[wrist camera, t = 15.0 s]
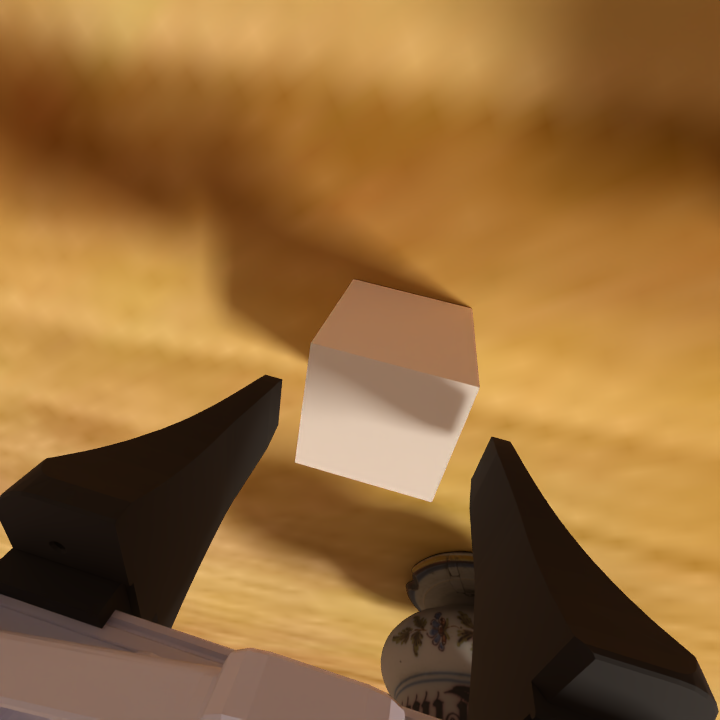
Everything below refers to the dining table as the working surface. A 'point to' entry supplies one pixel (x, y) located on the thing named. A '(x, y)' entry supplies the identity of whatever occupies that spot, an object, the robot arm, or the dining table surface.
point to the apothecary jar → (434, 639)
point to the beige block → (388, 389)
